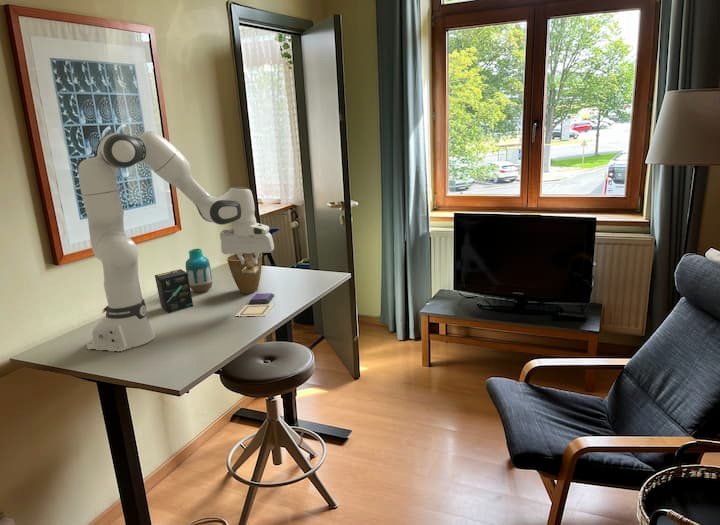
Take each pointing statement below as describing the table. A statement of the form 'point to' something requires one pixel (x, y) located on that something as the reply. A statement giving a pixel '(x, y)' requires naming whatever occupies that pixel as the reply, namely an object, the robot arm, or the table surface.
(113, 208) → the robot arm
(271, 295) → the ink pad
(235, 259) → the plant pot
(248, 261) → the stamp
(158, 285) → the tampon box
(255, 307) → the sheet
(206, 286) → the vase
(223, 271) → the table surface
